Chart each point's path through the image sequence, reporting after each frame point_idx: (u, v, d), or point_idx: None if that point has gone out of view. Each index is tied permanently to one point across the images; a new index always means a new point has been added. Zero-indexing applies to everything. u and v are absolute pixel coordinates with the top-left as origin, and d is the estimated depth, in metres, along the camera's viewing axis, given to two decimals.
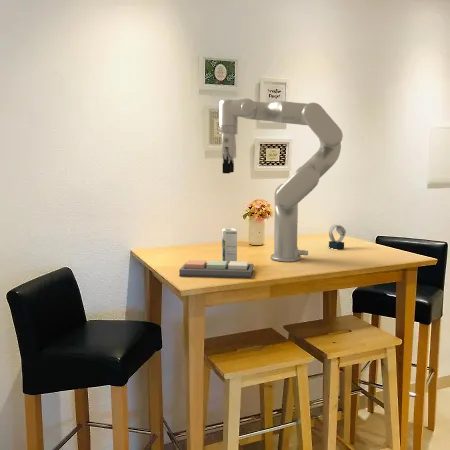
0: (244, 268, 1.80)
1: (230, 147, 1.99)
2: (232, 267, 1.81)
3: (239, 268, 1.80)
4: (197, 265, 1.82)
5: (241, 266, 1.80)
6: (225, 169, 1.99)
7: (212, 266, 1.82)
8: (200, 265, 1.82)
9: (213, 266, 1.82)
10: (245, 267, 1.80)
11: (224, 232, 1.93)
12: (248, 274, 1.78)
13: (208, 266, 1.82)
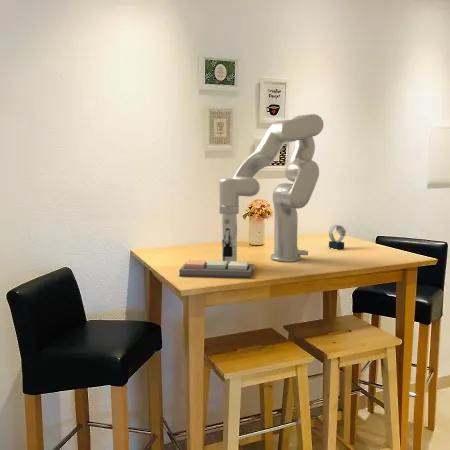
0: (244, 268, 1.80)
1: (231, 228, 1.90)
2: (232, 267, 1.81)
3: (239, 268, 1.80)
4: (197, 265, 1.82)
5: (241, 266, 1.80)
6: (227, 252, 1.92)
7: (212, 266, 1.82)
8: (200, 265, 1.82)
9: (213, 266, 1.82)
10: (245, 267, 1.80)
11: None
12: (248, 274, 1.78)
13: (208, 266, 1.82)
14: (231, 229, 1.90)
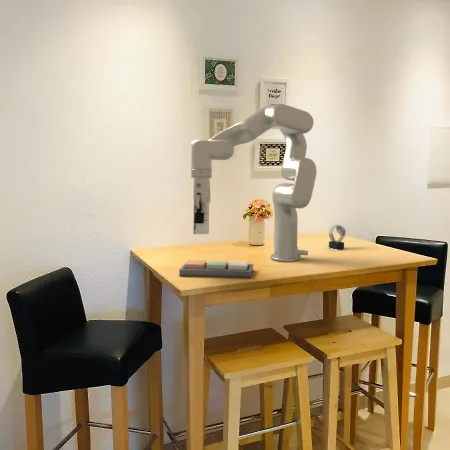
0: (244, 268, 1.80)
1: (203, 193, 1.79)
2: (232, 267, 1.81)
3: (239, 268, 1.80)
4: (197, 265, 1.82)
5: (241, 266, 1.80)
6: (198, 219, 1.81)
7: (212, 266, 1.82)
8: (200, 265, 1.82)
9: (213, 266, 1.82)
10: (245, 267, 1.80)
11: None
12: (248, 274, 1.78)
13: (208, 266, 1.82)
14: (202, 193, 1.79)
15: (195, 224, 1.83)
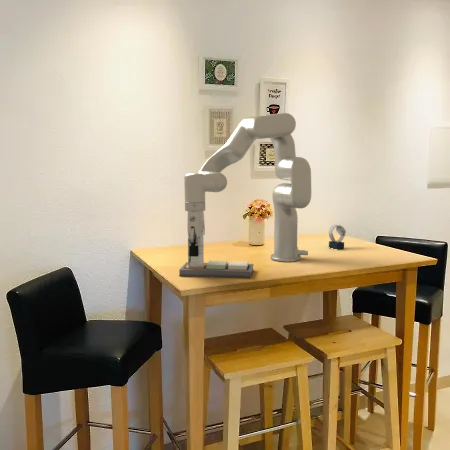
0: (244, 268, 1.80)
1: (197, 226, 1.79)
2: (232, 267, 1.81)
3: (239, 268, 1.80)
4: (197, 268, 1.83)
5: (241, 266, 1.80)
6: (192, 252, 1.81)
7: (212, 266, 1.82)
8: (200, 268, 1.82)
9: (213, 266, 1.82)
10: (245, 267, 1.80)
11: None
12: (248, 274, 1.78)
13: (208, 266, 1.82)
14: (197, 227, 1.79)
15: (190, 257, 1.82)
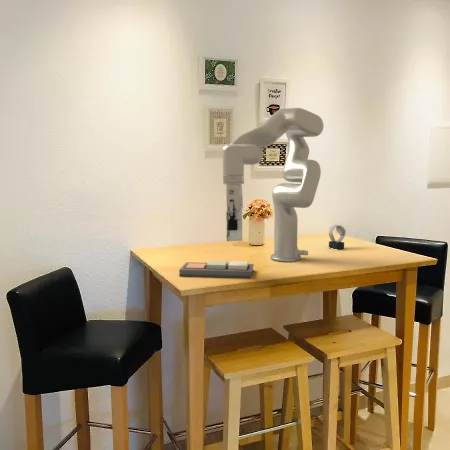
0: (244, 268, 1.80)
1: (236, 199, 1.75)
2: (232, 267, 1.81)
3: (239, 268, 1.80)
4: (197, 268, 1.83)
5: (241, 266, 1.80)
6: (231, 226, 1.77)
7: (212, 266, 1.82)
8: (200, 268, 1.82)
9: (213, 266, 1.82)
10: (245, 267, 1.80)
11: None
12: (248, 274, 1.78)
13: (208, 266, 1.82)
14: (236, 200, 1.75)
15: (228, 231, 1.79)
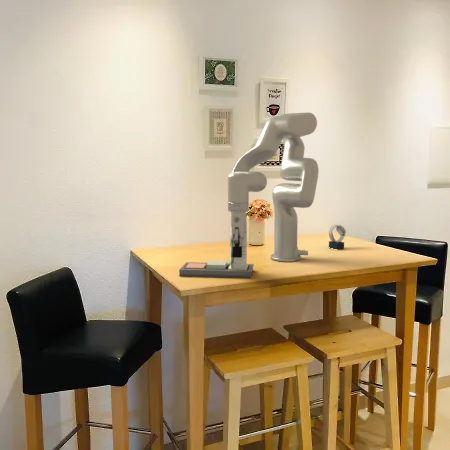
0: None
1: (241, 227, 1.76)
2: None
3: None
4: (197, 268, 1.83)
5: (241, 269, 1.80)
6: (236, 253, 1.79)
7: (212, 266, 1.82)
8: (200, 268, 1.82)
9: (213, 266, 1.82)
10: None
11: None
12: (248, 274, 1.78)
13: (208, 266, 1.82)
14: (241, 228, 1.76)
15: (233, 258, 1.80)
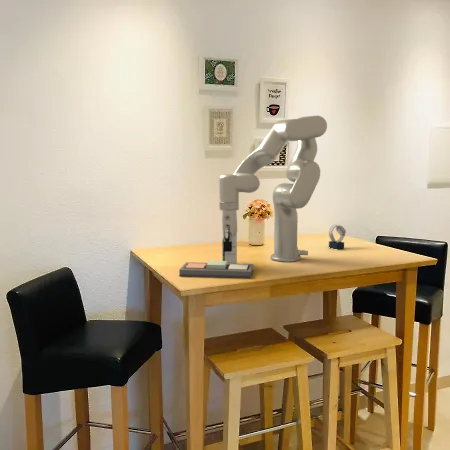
0: None
1: (231, 225, 1.90)
2: None
3: None
4: (197, 268, 1.83)
5: (241, 269, 1.80)
6: (226, 247, 1.91)
7: (212, 266, 1.82)
8: (200, 268, 1.82)
9: (213, 266, 1.82)
10: None
11: None
12: (248, 274, 1.78)
13: (208, 266, 1.82)
14: (231, 225, 1.90)
15: (224, 257, 1.94)
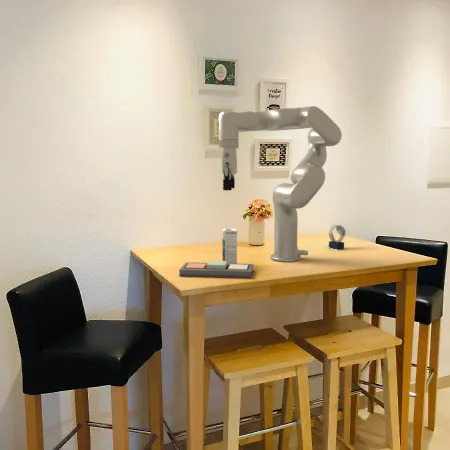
0: None
1: (231, 162, 1.86)
2: None
3: None
4: (197, 268, 1.83)
5: (241, 269, 1.80)
6: (226, 186, 1.87)
7: (212, 266, 1.82)
8: (200, 268, 1.82)
9: (213, 266, 1.82)
10: None
11: (224, 232, 1.93)
12: (248, 274, 1.78)
13: (208, 266, 1.82)
14: (231, 163, 1.86)
15: (224, 257, 1.94)
